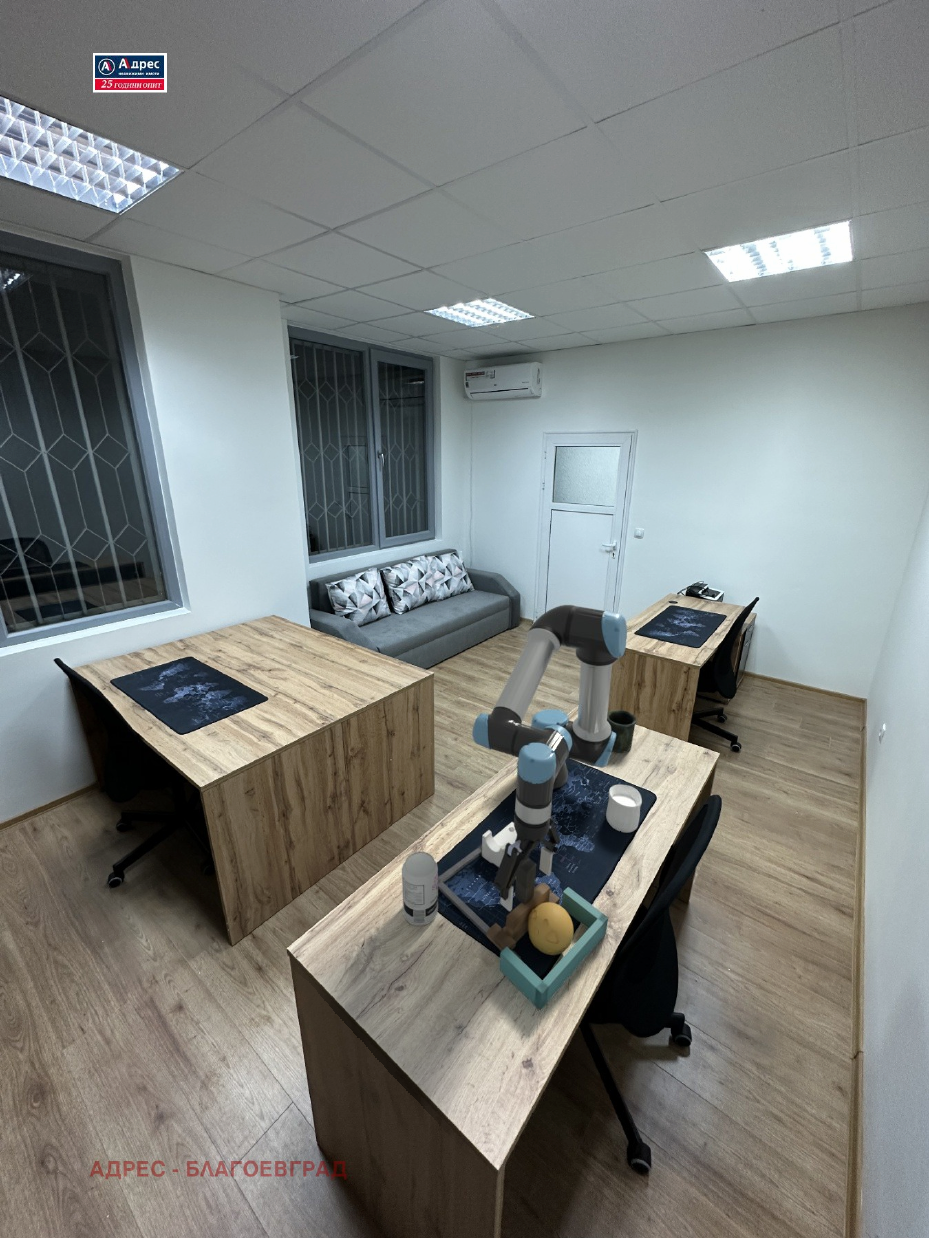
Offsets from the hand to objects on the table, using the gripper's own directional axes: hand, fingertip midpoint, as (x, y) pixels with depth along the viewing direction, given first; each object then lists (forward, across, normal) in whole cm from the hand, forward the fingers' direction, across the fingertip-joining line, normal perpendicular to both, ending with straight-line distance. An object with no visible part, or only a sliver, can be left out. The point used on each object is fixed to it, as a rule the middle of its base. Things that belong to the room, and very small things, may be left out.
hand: (526, 888), depth 111 cm
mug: (+11, -83, -24) cm, 87 cm away
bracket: (+11, -13, -17) cm, 25 cm away
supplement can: (+11, +16, -18) cm, 27 cm away
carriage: (+10, 0, 0) cm, 10 cm away
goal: (+11, 0, +9) cm, 14 cm away
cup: (+11, -47, -2) cm, 48 cm away
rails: (+11, 0, -8) cm, 14 cm away
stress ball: (+11, 0, +7) cm, 13 cm away
